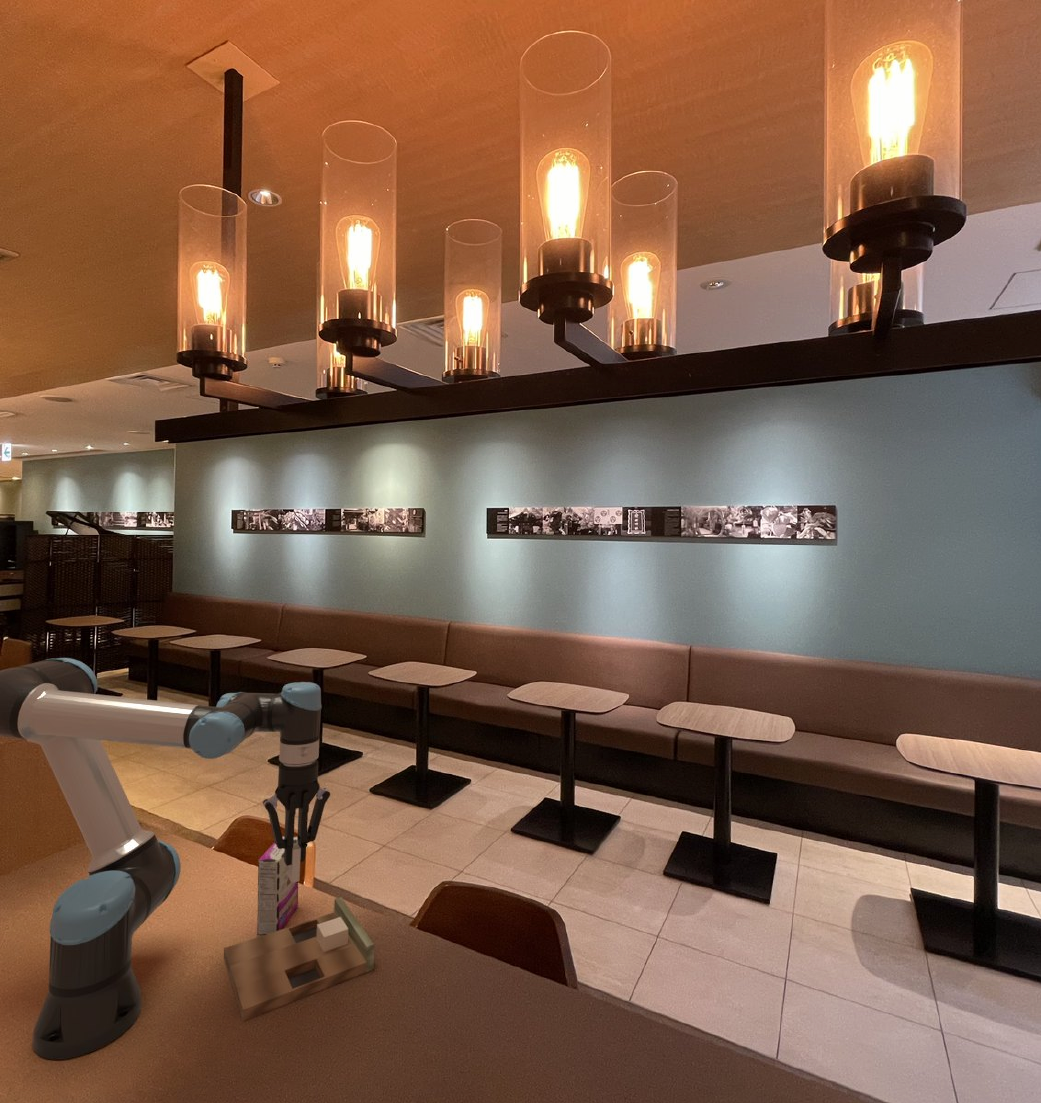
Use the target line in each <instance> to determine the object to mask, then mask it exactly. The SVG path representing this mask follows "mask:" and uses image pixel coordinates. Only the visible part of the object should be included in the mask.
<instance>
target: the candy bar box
mask: <svg viewBox="0 0 1041 1103" xmlns="http://www.w3.org/2000/svg"><path fill="white" fill-rule="evenodd" d="M282 837H283V839H284V836H283V835H282ZM294 843H298V841H297V836H294ZM294 843H293V844H294ZM257 863H258V865H257V866H258V867H257V868H258V871H257V923H256V924H257V928H256V929H257V930H256V933H257V935H259V936H263V935H266V934H269V933H272V932H275V931H278V930H282V929H284V927H285V926H286V924H287V923H288V921H289V919H290V918H291V916H292V915H293V914H294V913H295V911H296V910H297V908H298V907H299V881H298V882H294V883H291V881H290V879H289V877H288V871H289V865H288V866H286V864H285V862H284V849H283V848H282V849H278V847H277V845H276V844H275V842H273V844H272V845H271V846H270V847H269V848H268V849H267V850H266V851H265V852H264V854H262V856H260V857H259V859H258V862H257Z"/></svg>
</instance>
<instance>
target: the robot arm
mask: <svg viewBox="0 0 1041 1103" xmlns="http://www.w3.org/2000/svg"><path fill="white" fill-rule="evenodd" d="M97 691H98V680H97V677H96V675H95V673H94V671H93V670H92V669H91V668H90V666H88V665H87V664H85V663H83V661H80V660H77V659H74V658H70V657H60V658H59V657H58V658H47V659H43V660H41V661H36V662H31V663H29V664H24V665H20V666H16V667H9V668H5V669H2V670H0V737H3V738H8V739H9V738H11V739H21V740H26V741H27V742H29V743H33V744H37V745H40V747H41V749H42V751H43V753H44V755H45V758H46V760H47V763H48V764H49V766H50V768H51V770H52V773H53V775H54V777H55V779H56V781H57V783H58V786H59V788H60V790H61V792H62V794H63V796H64V798H65V800H66V801H65V802H66V803H67V804H68V807H69V808H70V812H71V813H72V815H73V817H74V819H75V822H76V824H77V826H78V828H79V830H80V832H81V834H82V837H83V839H84V841H85V843H86V846H87V848H88V850H89V851H90V854H91V856H92V857H91V860H90V863H89V866H88V868H87V872H88V874H89V876H88V878H85V879H83V878H81V879H79V880H78V881H76V882H74V883H73V884H72V885H70V886H68V887H67V888H66V889H65V890H64V891H62V893H61V894H60V895H59V896H58V897H57V899H56V901H55V902H54V905H53V908H52V914H51V919H50V923H49V934H50V939H49V940H50V941H49V942H50V943H49V968H48V969H49V973H48V991H47V992H48V993H46V994H47V995H46V996H45V1000H44V1002H43V1004H42V1007H41V1010H40V1012H39V1015H38V1017H37V1020H36V1023H35V1025H34V1029H33V1037H32V1039H33V1040H32V1041H33V1042H32V1044H33V1045H32V1046H33V1047H32V1048H33V1051H34V1052H35V1053H36V1055H38V1056H39V1057H41V1058H44V1059H48V1060H66V1059H72V1058H76V1057H81V1056H83V1055H86V1054H89V1053H91V1052H94V1051H97V1050H98V1049H101V1048H103V1047H105V1046H106V1045H108V1044H110V1043H111V1042H113V1041H114V1040H116V1039H118V1038H119V1037H120V1036H121V1035H123V1034H124V1033H125V1032H126V1031H127V1030H129V1029H130V1027H132V1026H133V1024H134V1023H135V1022H136V1021H137V1019H138V1017H139V1016H140V1012H141V1009H142V989H141V988H140V985H139V983H138V980H137V977H136V974H135V972H134V970H133V966H132V954H133V953H132V952H133V951H132V950H133V949H132V948H133V936H134V934H135V932H136V931H137V930H138V929H139V928H140V927H141V926H142V925H143V924H144V923H145V921H147V919H148V918H149V917H150V916H151V915H152V914H153V913H154V912H155V910H157V909H158V908H159V907H160V906H161V905H162V904H163V903H164V902H165V901H166V900H167V899H168V898H169V897H170V895H171V892H172V891H173V889H175V887H176V885H177V883H178V880H179V878H180V875H181V872H182V871H181V868H182V867H181V866H182V864H181V859H180V856H179V853H178V852H177V850H176V849H175V847H173V845H171V844H170V843H166V842H164V841H163V840H160V839H158V838H157V836H156V834H155V832H154V831H151V830H147V829H143V828H142V827H141V825H140V822H139V820H138V818H137V816H136V814H135V812H134V809H133V807H132V805H131V803H130V801H129V799H128V797H127V794H126V791H125V789H124V788H123V785H122V784H121V782H120V778H119V777H118V775H117V773H116V770H115V768H114V766H113V764H112V762H111V759H110V758H109V756H108V753H107V751H106V749H105V746H104V745H103V742H102V741H107V742H116V743H118V742H119V743H129V744H137V745H138V744H139V745H149V746H159V747H169V748H180V749H188V750H189V749H190V750H192V751H193V752H194V753H195V754H196V755H198V756H199V757H200V758H203V759H209V760H210V759H211V760H213V759H218V758H221V757H223V756H224V755H227V754H229V753H231V752H232V751H233V750H235V749H236V748H237V747H238V746H239V745H240V744H241V743H243V742H244V741H245V740H246V739H248V738H249V737H251V736H253V734H255V733H261V732H262V733H266V732H267V733H277V732H278V733H279V734H280V737H279V754H278V760H279V762H280V763H279V764H278V777H277V787H276V789H275V791H274V795H273V796H271V797H270V798H269V799H268V798H266V799H263V800H262V804H263V807H264V808H265V810H266V811H267V813H268V817H269V821H270V826H271V831H272V835H273V839H274V840H273V841H274V843H275V844H276V845H277V847H278V849H282V848H283V849H284V862H285V864H286V866H288V865H289V871H288V877H289V879H290V881H291V883H294V882H298V883H299V882H300V878H301V876H300V874H301V873H300V872H301V863H302V862H303V863H304V862H305V861H306V848H307V847H308V844H309V843H310V842H314V841H315V840H316V838H317V834H318V831H319V827H320V824H321V821H322V817H323V813H324V808H325V805H326V803H327V802H328V800H329V799H330V797H331V792H330V791H329V790H328V789H327V788H326V787H324V788H323V787H321V785H320V783H319V780H318V778H319V761H318V760H317V759H318V758H319V754H320V750H319V749H320V729H321V716H322V715H321V712H322V695H321V694H322V690H321V687H320V685H318V684H317V683H314V682H310V681H308V682H306V681H301V682H291V683H287V684H284V686H283V687H282V689H281V692H279V693H267V692H266V693H265V692H263V693H259V692H244V691H239V692H229V693H228V692H227V693H225V694H223V695H221V697H220V698H219V700H218V701H217V703H216V706H209V705H199V704H191V703H183V702H182V703H181V702H173V701H172V702H171V701H165V700H154V699H144V698H143V699H142V698H137V697H136V698H133V697H125V696H115V695H108V694H107V695H105V694H98V693H97V694H96V692H97ZM315 796H316V798H315ZM314 798H315V802H314V805H313V810H312V813H311V816H310V819H308V818H309V811H310V804H311V803H312V801H313V800H314ZM278 801H279V802H280V804H282V806H283V807H284V810H285V814H284V839H283V837H282V836H283V833H282V829H281V824H280V821H279V815H278V811H277V810H276V809H277V808H278ZM297 810H298V816H297V818H298V819H297V836H296V837H297V841H298V843H294V837H295V820H296V819H295V818H296V815H297V813H296V811H297ZM309 820H310V821H309ZM308 821H309V823H308ZM293 843H294V844H293Z"/></svg>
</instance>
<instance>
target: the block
mask: <svg viewBox="0 0 1041 1103" xmlns="http://www.w3.org/2000/svg"><path fill="white" fill-rule="evenodd" d="M317 941H318V943H319V945H320V946H321V948H322V950H323V952H326V951H329V950H331V949H334V948H337V947H340V946H343V945H345V944H348V928H347V926H346V924H345V923H344V921H343V920H342V918H341V917H339V918H336V919H333V920H330V921H327V922H323V923H320V924H317Z"/></svg>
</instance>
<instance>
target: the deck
mask: <svg viewBox="0 0 1041 1103" xmlns="http://www.w3.org/2000/svg"><path fill="white" fill-rule="evenodd" d="M333 910H334V911H333V912H331V913H327V914H325V915H322V916H319V917H316V918H313V919H309V920H307V921H303V922H301V923H297V924H294V925H291V926H288V927H286V928H283V929H282V930H278V931H275V932H272V933H269V934H266V935H259V936H258V937H254V938H251V939H248V940H245V941H242V942H239V943H238V942H237V943H235V944H233V945H230V946H226V947H224V948H223V961H224V963H225V966H226V967H225V968H226V970H227V973H228V976H229V980H230V984H231V986H232V989H233V993H234V998H235V1001H236V1003H237V1008H238V1011H239V1013H240V1014H239V1015H240V1017H241V1020H242V1022H244V1021H247V1020H249V1019H252V1018H255V1017H257V1016H260V1015H263V1014H265V1013H267V1012H270V1011H272V1010H275V1009H278V1008H280V1007H282V1006H285V1005H289V1004H290V1003H292V1002H296V1001H299V1000H301V999H303V998H305V997H308V996H311V995H314V994H315V993H319V992H320V991H324V990H326V989H328V988H331V987H334V986H335V985H338V984H341V983H343V982H346V981H349V980H350V979H351V980H352V979H353V978H356V977H358V976H361V975H363V974H366V973H369V972H371V971H374V966H375V965H374V962H375V943H374V942H373V940H372V939H371V938H370V936H369V935H368V933H367V932H366V931H365V929H364V927H363V926H362V924H361V923H360V922H359V920H358V919H357V918H356V916H355V915H354V913H353V912H352V910H351V909H350V907H349V906H348V904H347V903H346V901H345V900H344V898H343V897H342V896H340V897H337V898H334V909H333ZM339 917H341V918H342V920H343V921H344V923H345V924H346V926H347V928H348V944H345V945H343V946H340V947H337V948H334V949H331V950H329V951H326V952H323V950H322V948H321V946H320V945H319V943H318V941H317V924H320V923H323V922H327V921H330V920H333V919H336V918H339Z"/></svg>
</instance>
